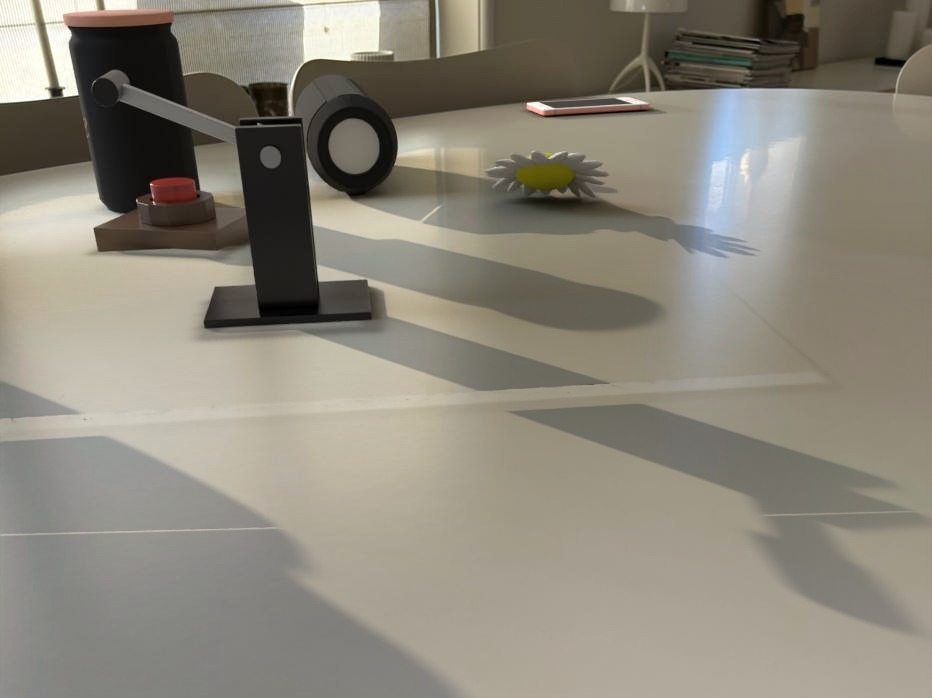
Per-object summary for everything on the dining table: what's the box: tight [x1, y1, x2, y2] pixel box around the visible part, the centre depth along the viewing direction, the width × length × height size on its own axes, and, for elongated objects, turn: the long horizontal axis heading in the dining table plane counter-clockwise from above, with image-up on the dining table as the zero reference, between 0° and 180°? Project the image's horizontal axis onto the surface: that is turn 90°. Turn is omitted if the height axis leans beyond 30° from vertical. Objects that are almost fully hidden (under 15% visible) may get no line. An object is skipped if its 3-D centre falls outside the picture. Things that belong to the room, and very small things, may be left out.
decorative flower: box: [483, 150, 610, 199], centre depth 117 cm, size 13×5×30 cm
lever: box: [92, 70, 263, 146], centre depth 73 cm, size 13×5×2 cm, turn 96°
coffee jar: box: [62, 8, 201, 215], centre depth 110 cm, size 11×11×18 cm
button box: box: [92, 189, 249, 253], centre depth 99 cm, size 12×10×4 cm
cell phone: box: [526, 96, 650, 116], centre depth 170 cm, size 9×18×1 cm, turn 106°
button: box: [150, 178, 197, 203], centre depth 98 cm, size 4×4×2 cm
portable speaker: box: [294, 73, 399, 195], centre depth 123 cm, size 26×10×10 cm, turn 12°
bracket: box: [203, 115, 373, 329], centre depth 77 cm, size 12×9×13 cm
